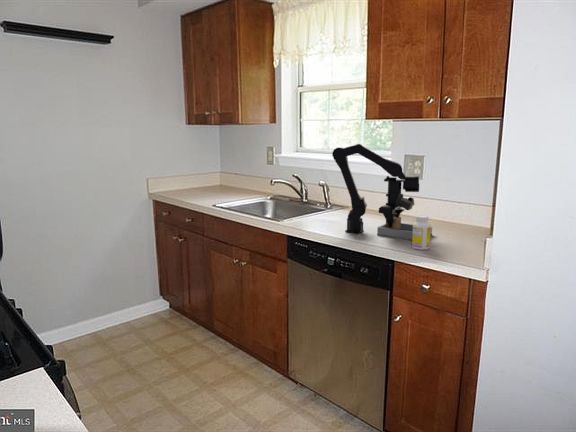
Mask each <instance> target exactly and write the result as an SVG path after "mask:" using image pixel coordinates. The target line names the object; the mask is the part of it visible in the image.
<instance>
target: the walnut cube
mask: <svg viewBox="0 0 576 432" xmlns="http://www.w3.org/2000/svg"><path fill="white" fill-rule="evenodd" d="M401 223H402V217H401V216H399V217H395V216H394V219H393V224H392V227H389V225H388V223H387V221H386V220H385V224H386V228H390V229H397V230H398V229H400V228H401Z"/></svg>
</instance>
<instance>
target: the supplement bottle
mask: <svg viewBox="0 0 576 432" xmlns="http://www.w3.org/2000/svg"><path fill="white" fill-rule="evenodd" d="M415 220H416V221H414V222H413V223H412V224H413V236H412V240H411V246H412V249H414V250H421V251H424V250H429V249H430V245H431V236H430V229H431V227H432V226H431V223H430V222H429V221H428V220H429V215H424V214H417V215H415Z"/></svg>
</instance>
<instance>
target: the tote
mask: <svg viewBox="0 0 576 432" xmlns="http://www.w3.org/2000/svg"><path fill="white" fill-rule="evenodd" d="M376 231H377V233H376V234H377V236H381V237H382V236H383V237H389V238H395V239H401V240H409V241H412V236H413V223H405V222H401V228H400V229H398V230H397V229H390V228H386V223H384V224H382V225H380V226H377V230H376ZM432 235H433V226H431V229H430V237H431V236H432Z"/></svg>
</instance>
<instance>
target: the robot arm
mask: <svg viewBox="0 0 576 432" xmlns="http://www.w3.org/2000/svg"><path fill="white" fill-rule="evenodd" d="M356 154H358V155H360V156H362V157H364V158H365V159H367V160H369V161H370V162H372V163H374V164H376V165H378V166H379V167H381V168H382V169H383V170H384V171H385V172H387V174H388V175H387V176H386V177H385V178H384V179H383V181H384V182H387V193H386V194H385V197H387V199H386V200H387V202H385V205H381V206H380V207H379V208H378V213H379V214H382V216H384V218H385V222H386V221H387V223H388V225H389V227H392V224H393V219H394V216H395V217H401V214H402V213H403V212H404V211H405V210H406V211H410V210H412V209H413V207H414V206H415V200H414V197H411V196H409V197H408V198H407V197H406V198H405V197H404V194H403V193H402V190H404V191H405V193H419V192H420V176H418V175H417V176H416V175H415V176H406V174H405V173H404V172H403V167H402V165H401V163H399V162H396V161H394V160H390V159H388V158H384V157H382V156H381V155H379V154H377V153H375V152H374V151H373V150H372V149H371V150H370V149H369V148H367V147H365V146H363V144H361V143H356V144H354V145H350V146H347V147H343V146H337V147H336V148H334V149H333V150H332V154H331V155H332V159H333V160H334V162H335V164H336V165H337V166H338V168H339V169H340V172H341V175H342V178H343V181H344V184H345V186H346V188H347V191H348V194H349V197H350V204H351V210H350V211H349V212H348V214H347V218H346V229H345V230H344V232H346V233H351V234H360V233H362V232H364V221H363V218H362V217H363V216H364V215H365V214H366V211H367V207H368V204H367V202H366V201H365V196H363V197H362V196H361V195H360V194H359V191H358V188H357V185H356V182H355V180H354V177H353V175H352V172H351V169H350V167H349V165H350V164H349V161H348V157H349V156H352V155H356ZM389 175H390V176H391V177H390V176H389ZM397 178H398V179H397Z"/></svg>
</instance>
